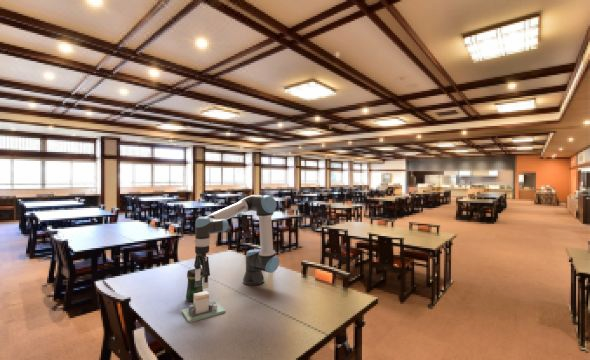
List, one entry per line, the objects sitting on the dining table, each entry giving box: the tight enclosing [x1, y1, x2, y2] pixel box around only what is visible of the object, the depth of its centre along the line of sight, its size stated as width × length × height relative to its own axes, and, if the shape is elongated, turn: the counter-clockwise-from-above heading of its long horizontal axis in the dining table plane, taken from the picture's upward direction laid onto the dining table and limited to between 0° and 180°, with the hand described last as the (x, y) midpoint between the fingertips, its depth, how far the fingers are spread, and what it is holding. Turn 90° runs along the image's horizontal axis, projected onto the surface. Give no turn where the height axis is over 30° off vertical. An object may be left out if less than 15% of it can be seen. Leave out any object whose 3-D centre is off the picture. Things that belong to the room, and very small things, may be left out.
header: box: [188, 301, 213, 317], centre depth 150 cm, size 11×7×4 cm, turn 127°
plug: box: [192, 290, 210, 314], centre depth 150 cm, size 7×5×10 cm, turn 127°
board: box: [181, 300, 227, 324], centre depth 152 cm, size 20×14×4 cm
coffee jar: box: [185, 267, 204, 302], centre depth 169 cm, size 10×8×19 cm
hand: (201, 284), depth 150 cm, fingers open, 12 cm apart
